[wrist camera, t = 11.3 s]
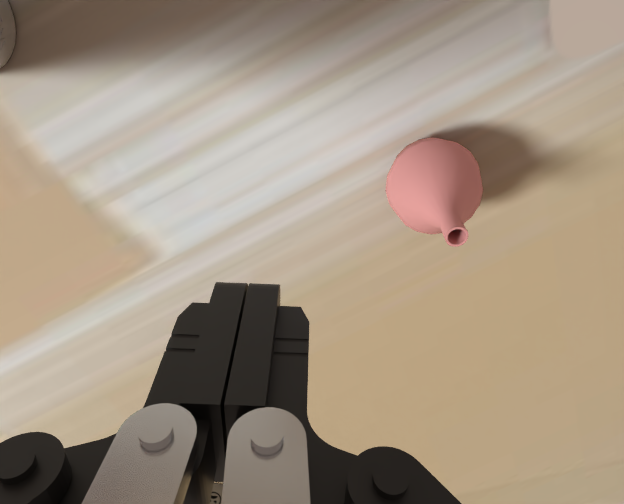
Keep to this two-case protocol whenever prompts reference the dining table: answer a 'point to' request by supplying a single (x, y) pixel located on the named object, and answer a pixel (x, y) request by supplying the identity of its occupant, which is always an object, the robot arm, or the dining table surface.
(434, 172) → the pink vase
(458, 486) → the dining table surface
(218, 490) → the grey toy block
